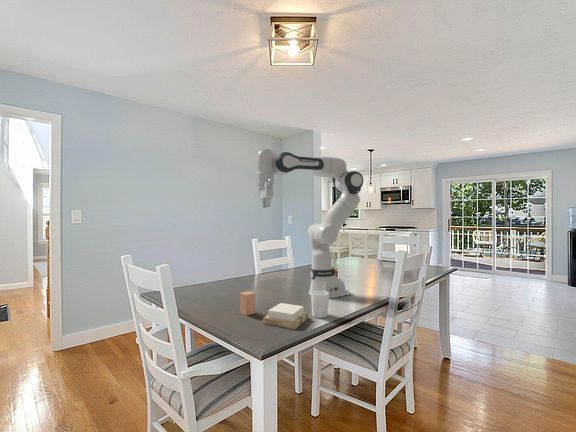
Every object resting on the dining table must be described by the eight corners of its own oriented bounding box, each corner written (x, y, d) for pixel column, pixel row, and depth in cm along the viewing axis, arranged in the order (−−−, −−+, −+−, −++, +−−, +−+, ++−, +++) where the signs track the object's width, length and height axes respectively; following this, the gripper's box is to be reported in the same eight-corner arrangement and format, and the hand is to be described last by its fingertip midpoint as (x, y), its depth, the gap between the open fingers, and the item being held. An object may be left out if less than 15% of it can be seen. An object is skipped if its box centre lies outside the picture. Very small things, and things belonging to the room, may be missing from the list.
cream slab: (280, 309, 132) (280, 302, 132) (303, 313, 128) (303, 306, 127) (268, 317, 122) (268, 310, 122) (292, 321, 118) (292, 314, 118)
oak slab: (278, 314, 134) (278, 308, 134) (307, 319, 128) (307, 312, 128) (263, 325, 122) (263, 318, 122) (294, 331, 116) (294, 323, 116)
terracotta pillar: (249, 310, 138) (249, 290, 138) (255, 313, 134) (255, 293, 134) (239, 312, 135) (239, 292, 135) (245, 315, 131) (245, 295, 131)
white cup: (309, 312, 135) (309, 290, 135) (326, 312, 136) (326, 290, 136) (312, 319, 127) (312, 295, 127) (330, 318, 128) (330, 295, 128)
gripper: (275, 178, 147) (276, 206, 147) (268, 183, 167) (268, 208, 167) (263, 178, 145) (264, 206, 145) (256, 183, 165) (257, 208, 165)
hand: (266, 207), depth 156 cm, fingers open, 8 cm apart
